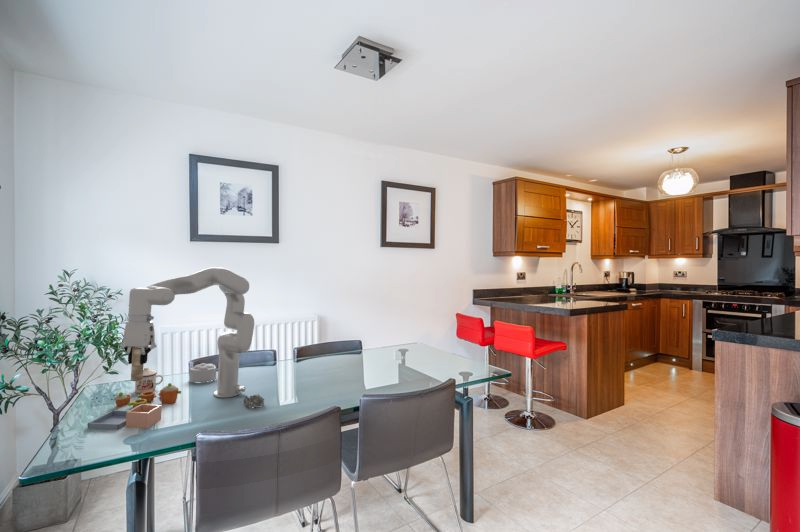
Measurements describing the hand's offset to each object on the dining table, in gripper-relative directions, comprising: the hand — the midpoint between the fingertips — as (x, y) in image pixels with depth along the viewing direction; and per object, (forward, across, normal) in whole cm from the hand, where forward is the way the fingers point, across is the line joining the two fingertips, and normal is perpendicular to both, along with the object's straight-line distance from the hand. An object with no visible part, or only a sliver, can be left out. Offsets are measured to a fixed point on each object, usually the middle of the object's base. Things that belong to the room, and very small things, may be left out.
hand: (137, 362), depth 152 cm
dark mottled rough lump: (+26, -39, -26) cm, 53 cm away
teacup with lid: (+26, +19, -40) cm, 51 cm away
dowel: (+7, 0, 0) cm, 7 cm away
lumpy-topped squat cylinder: (+26, +1, -58) cm, 63 cm away
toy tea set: (+26, +8, -22) cm, 35 cm away
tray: (+25, +8, 0) cm, 27 cm away
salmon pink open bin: (+25, -4, 0) cm, 26 cm away
